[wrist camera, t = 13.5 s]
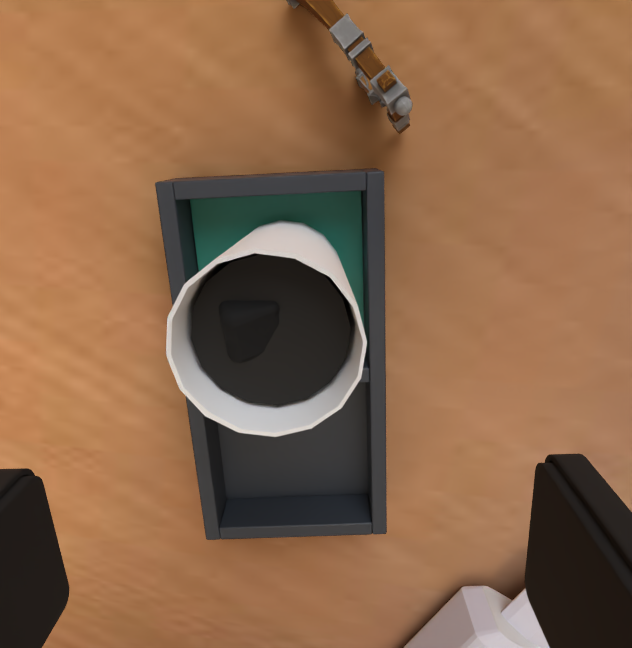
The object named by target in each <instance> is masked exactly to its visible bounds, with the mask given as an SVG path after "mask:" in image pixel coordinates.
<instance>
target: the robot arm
mask: <svg viewBox="0 0 632 648" xmlns="http://www.w3.org/2000/svg"><path fill="white" fill-rule="evenodd" d="M525 588H526V593H527V597H528V600H529V602H530V604H531V607H532V609H533V611H534V614H535V616H536V618H537V620H538V623H539V625H540V627H541V629H542V632H543V634H544V636H545V638H546V641H547V643H548V645H549V647H550V648H632V512H631V511H630V510H629V509H628V507H627V506H626V505H625V504H624V503H623V501H622V500H621V499H620V498H619V497H618V495H617V494H616V493H615V492H614V491H613V489H612V488H611V487H610V486H609V485H608V483H607V482H606V481H605V480H604V479H603V477H602V476H601V475H600V474H599V473H598V472H597V470H596V469H595V468H594V467H593V466H592V464H591V463H590V462H589V461H588V460H587V458H586V457H585V456H583V455H582V454H554V455H548V456H547V457H546V459H545V463H538V464H537V466H536V470H535V479H534V489H533V500H532V510H531V520H530V530H529V540H528V550H527V560H526V570H525ZM68 597H69V584H68V580H67V576H66V572H65V568H64V564H63V560H62V556H61V552H60V548H59V544H58V540H57V536H56V532H55V528H54V524H53V520H52V516H51V512H50V508H49V504H48V500H47V496H46V492H45V488H44V484H43V482H42V479H41V478H40V477H38V476H35V475H34V473H33V472H32V471H31V470H30V469H0V648H42V646H43V645H44V643H45V641H46V639H47V638H48V636H49V634H50V633H51V631H52V629H53V627H54V626H55V624H56V622H57V621H58V619H59V617H60V615H61V614H62V612H63V610H64V608H65V606H66V604H67V601H68Z"/></svg>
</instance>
